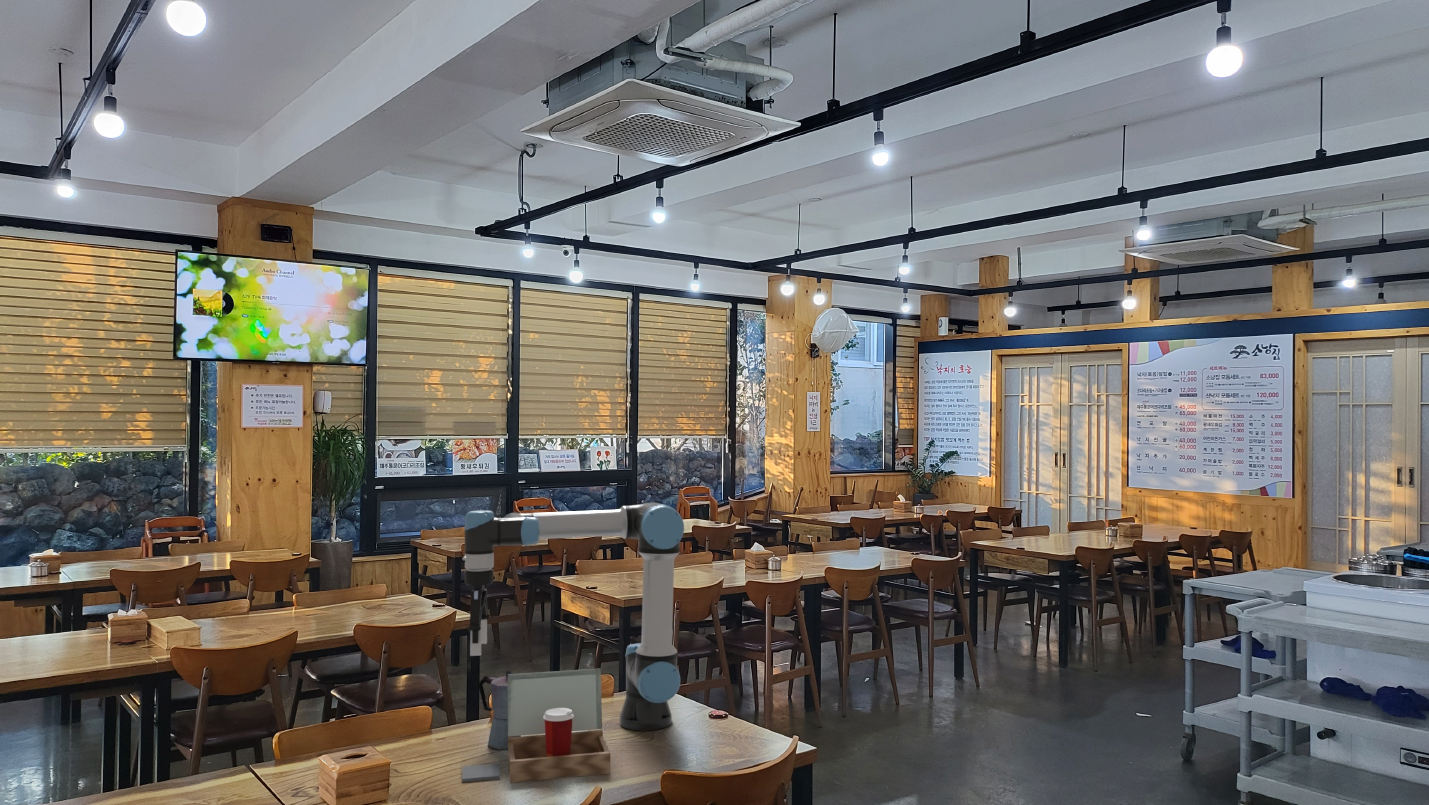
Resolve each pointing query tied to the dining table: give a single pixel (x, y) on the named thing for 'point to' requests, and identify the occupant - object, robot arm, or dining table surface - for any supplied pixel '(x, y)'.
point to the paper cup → (558, 731)
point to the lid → (554, 699)
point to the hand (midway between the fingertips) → (478, 649)
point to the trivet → (480, 772)
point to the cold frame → (557, 757)
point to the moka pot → (497, 710)
